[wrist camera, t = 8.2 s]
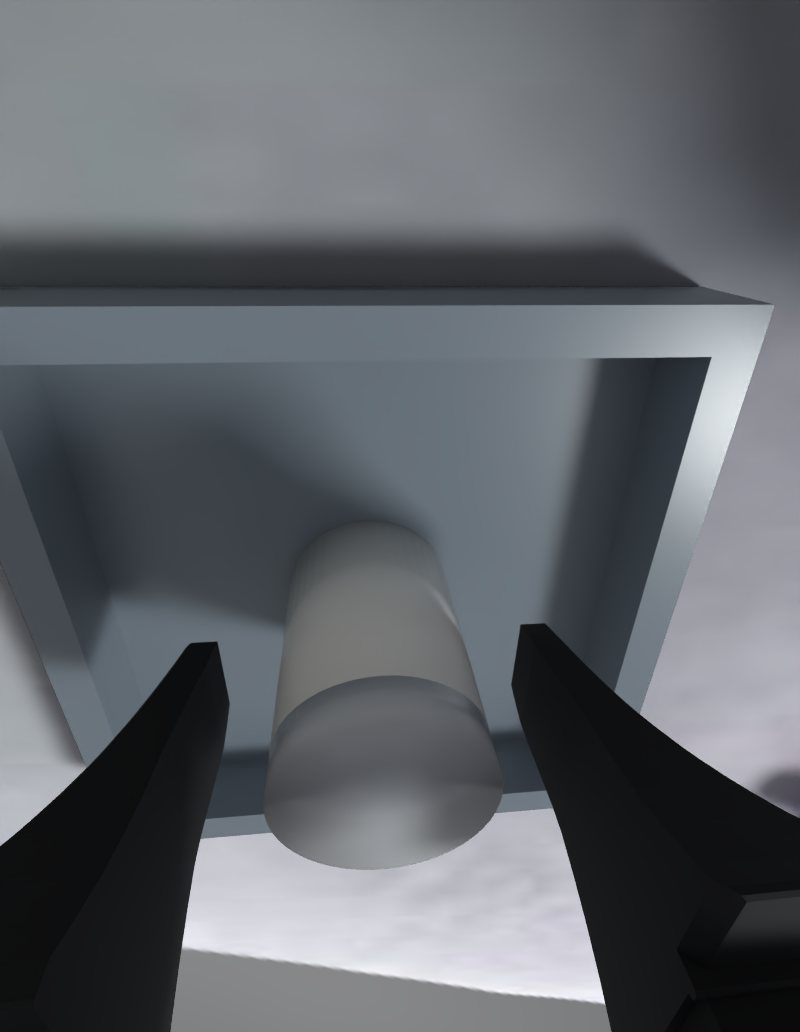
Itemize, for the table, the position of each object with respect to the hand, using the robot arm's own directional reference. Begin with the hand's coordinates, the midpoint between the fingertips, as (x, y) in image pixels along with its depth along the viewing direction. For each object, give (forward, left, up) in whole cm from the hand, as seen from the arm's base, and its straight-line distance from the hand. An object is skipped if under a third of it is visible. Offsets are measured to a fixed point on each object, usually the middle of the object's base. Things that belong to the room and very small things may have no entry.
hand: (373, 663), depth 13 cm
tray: (0, 0, -3) cm, 3 cm away
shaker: (0, 0, -3) cm, 3 cm away
